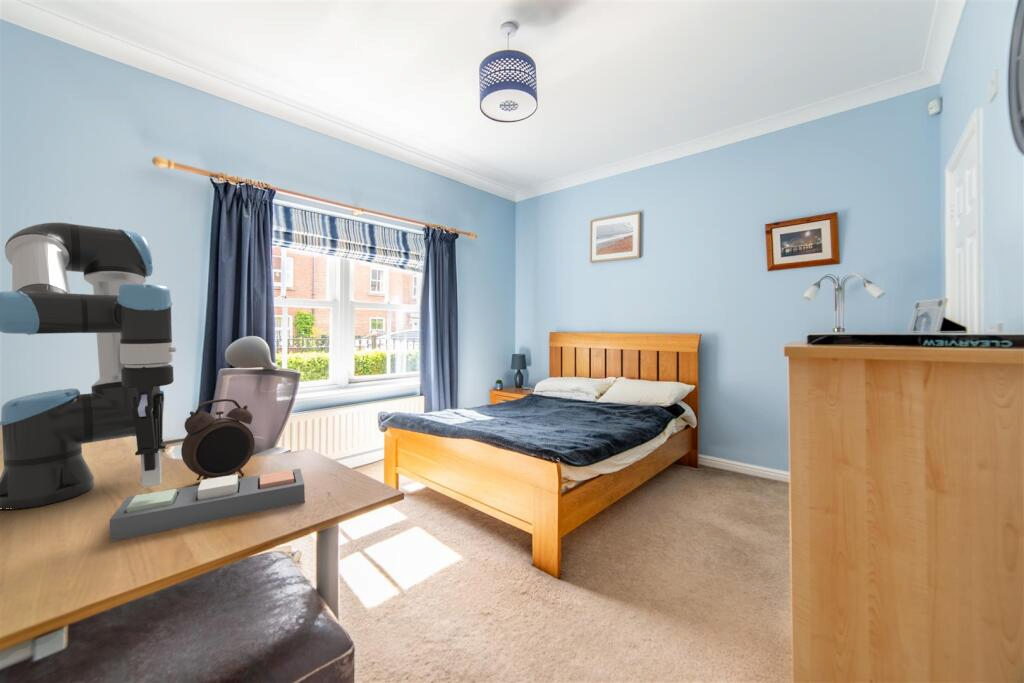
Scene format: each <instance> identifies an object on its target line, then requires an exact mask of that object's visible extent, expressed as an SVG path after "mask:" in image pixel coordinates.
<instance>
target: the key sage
mask: <svg viewBox="0 0 1024 683" xmlns="http://www.w3.org/2000/svg"><path fill="white" fill-rule="evenodd" d="M177 489H178V488H173V489H166V490H162V491H155V492H150V493H143V494H137V495H134V496H135V497H134V498H133V500H132V501H131V503H130V504H129V505H128V507H127V513H129V512H135V511H141V510H146V509H152V508H157V507H163V506H168V505H174V503H175V501H176V498H177Z"/></svg>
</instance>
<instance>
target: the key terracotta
mask: <svg viewBox="0 0 1024 683" xmlns="http://www.w3.org/2000/svg"><path fill="white" fill-rule="evenodd" d="M292 470H293V469H288V470H283V471H275V472H269V473H266V474H265V473H263V474H260V489H263V488H268V487H274V486H279V485H285V484H290V483H294V476H293V471H292Z"/></svg>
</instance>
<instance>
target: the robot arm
mask: <svg viewBox="0 0 1024 683" xmlns="http://www.w3.org/2000/svg"><path fill="white" fill-rule="evenodd" d="M4 254H5V255H4V256H5V258H6V260H7V261H8V263H9V264H10V265H11V267H12V269H11V270H12V272H11V273H12V274H11V275H12V279H11V280H12V284H11V285H12V286H11V289H12V291H11V290H10V291H0V333H3V334H21V335H22V334H25V335H28V336H31V335H39V334H40V335H42V334H43V335H44V334H45V335H46V334H47V335H48V334H51V335H52V334H96V343H97V356H98V358H97V359H98V360H97V361H98V370H99V371H98V372H99V375H98V376H99V378H98V380H96V381H95V382H94V383H92V385H91V388H90V389H91V393H81V391H80V390H79V389H78V388H65V389H56V390H50V391H49V390H48V391H43V392H37V393H32V394H28V395H23V396H19V397H15V398H12V399H10V400H8V401H6V402H5V403H4V404H3V405H2V407H1V416H0V417H1V418H0V426H1V430H2V431H1V432H2V433H1V434H2V435H1V436H2V454H3V455H2V457H3V469H2V473H1V475H0V508H2V509H6V508H9V509H10V508H12V509H11V510H15V509H14V508H22V509H26V507H27V509H28V507H29V508H34V507H39V506H45V505H48V504H49V505H50V504H54V503H57V502H61V501H64V500H69V499H71V498H74V497H78V496H80V495H83V494H85V493H87V492H88V491H90V490H92V489H93V488H94V486H95V477H94V474H93V473H92V471H91V469H90V467H89V466H88V464H87V461H86V460H85V458H84V456H83V448H82V446H83V444H88V443H96V442H103V441H109V440H115V439H116V440H117V439H121V438H122V439H124V438H128V437H136V438H135V439H136V448H137V450H136V452H135V453H134V454H135V456H140V466H141V467H140V469H141V471H140V472H141V488H147V487H153V486H154V487H155V486H160V485H161V484H162V482H163V481H162V480H163V479H162V474H163V473H162V451H161V450H163V449H166V444H163V441H164V439H163V431H164V430H163V425H164V424H163V423H164V422H163V420H164V416H163V415H164V410H165V408H164V407H165V392H164V391H165V390H164V388H163V387H164V386H168V385H171V384H173V383H174V366H172V364H169V363H172V362H173V353H176V352H177V348H176V347H174V346H173V339H172V338H173V335H172V330H173V329H172V306H173V301H172V297H171V290H170V289H169V287H168V286H166V285H160V284H159V285H158V284H147V283H146V281H147V280H146V278H148V277H151V276H152V274H153V269H154V267H153V266H154V265H153V258H152V252H151V249H150V245H149V243H148V241H147V239H146V238H145V237H144V236H143V235H142V233H141V234H140V233H138V232H135V231H128V230H124V229H119V228H118V229H115V228H107V227H99V226H90V225H83V224H82V225H81V224H74V223H67V222H45V223H39V224H33V225H31V226H26V227H25V228H22V229H20V230H18V231H17V232H15V233H14V234H12V235H11V236H10V237H9V238H8V240H7V241H6V243H5V245H4ZM67 272H77V273H83V280H84V281H85V282H87V283H88V284H90V285H91V286H92V290H93V294H86V293H85V294H84V293H71V292H70V291H71V290H70V285H69V281H68V274H67Z"/></svg>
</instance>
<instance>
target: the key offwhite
mask: <svg viewBox="0 0 1024 683" xmlns="http://www.w3.org/2000/svg"><path fill="white" fill-rule="evenodd" d="M238 479H239V474H237V473H236V474H232V475H229V476H224V477H217V478H207V479H205V480H202V479H200V483H199V488H198V500H202V499H207V498H213V497H218V496H224V495H229V494H235V493H238Z"/></svg>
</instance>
